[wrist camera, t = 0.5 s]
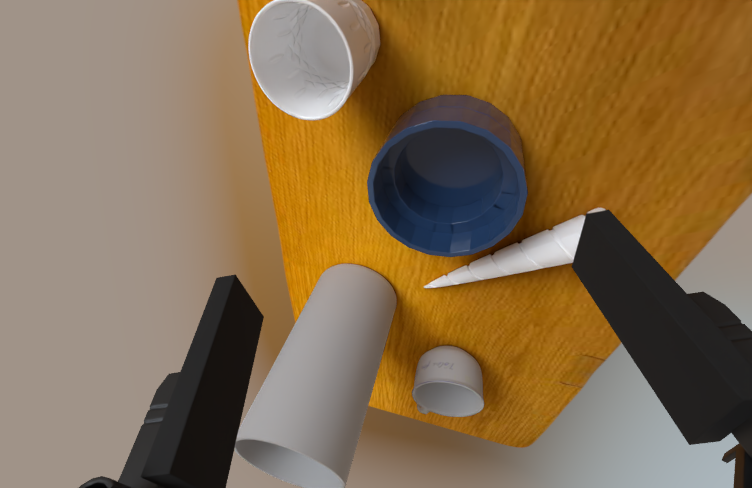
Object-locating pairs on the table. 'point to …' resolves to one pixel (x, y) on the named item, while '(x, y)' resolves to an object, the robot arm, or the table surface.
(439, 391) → the teacup
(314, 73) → the white cup
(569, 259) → the unicorn horn
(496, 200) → the navy blue bowl
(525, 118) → the table surface
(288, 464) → the cylinder vase
